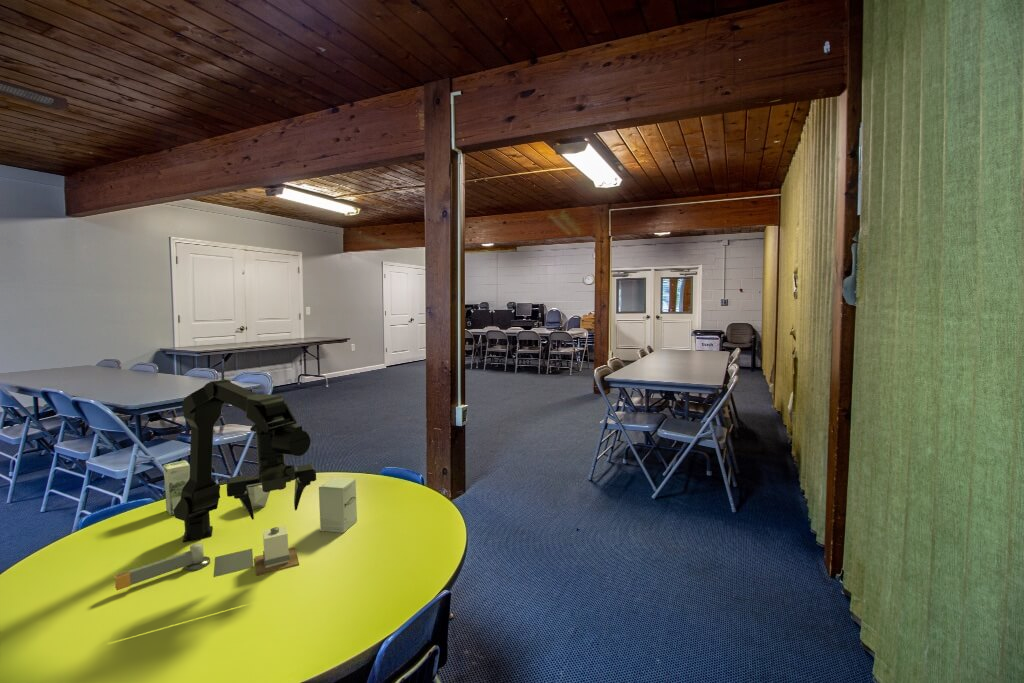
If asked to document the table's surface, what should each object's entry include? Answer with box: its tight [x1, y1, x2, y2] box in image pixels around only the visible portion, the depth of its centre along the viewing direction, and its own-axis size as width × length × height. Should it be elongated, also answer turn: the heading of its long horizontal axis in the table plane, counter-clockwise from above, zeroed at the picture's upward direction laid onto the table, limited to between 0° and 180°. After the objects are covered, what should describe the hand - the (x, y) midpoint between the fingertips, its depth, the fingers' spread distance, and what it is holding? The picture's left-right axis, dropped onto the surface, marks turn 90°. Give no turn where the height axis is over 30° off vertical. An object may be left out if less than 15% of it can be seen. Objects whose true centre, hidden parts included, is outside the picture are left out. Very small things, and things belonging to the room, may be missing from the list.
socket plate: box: [213, 548, 254, 578], centre depth 116 cm, size 10×8×1 cm
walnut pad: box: [254, 546, 300, 577], centre depth 117 cm, size 9×9×1 cm
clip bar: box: [114, 542, 205, 591], centre depth 110 cm, size 16×3×4 cm, turn 137°
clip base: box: [184, 555, 211, 572], centre depth 115 cm, size 5×5×1 cm
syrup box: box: [162, 460, 190, 516], centre depth 146 cm, size 6×6×14 cm
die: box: [239, 485, 271, 511], centre depth 148 cm, size 8×9×10 cm
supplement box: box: [318, 477, 358, 534], centre depth 135 cm, size 7×7×13 cm
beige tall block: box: [262, 525, 290, 568], centre depth 116 cm, size 5×5×8 cm
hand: (274, 514), depth 115 cm, fingers open, 9 cm apart
